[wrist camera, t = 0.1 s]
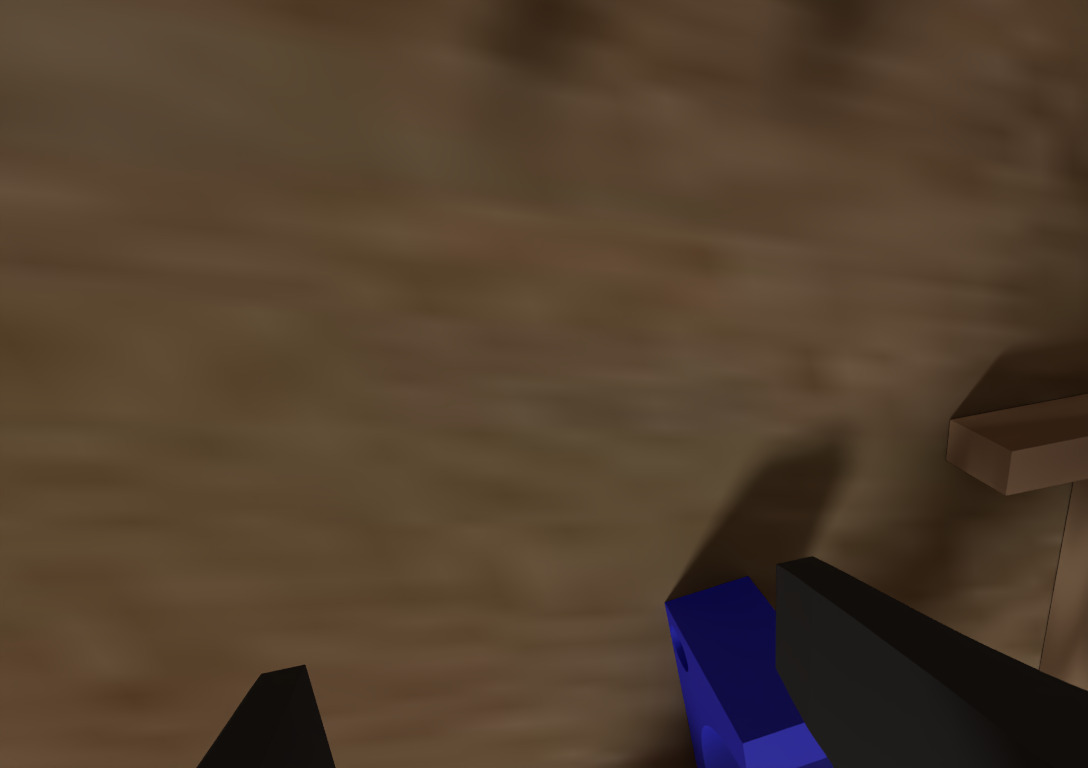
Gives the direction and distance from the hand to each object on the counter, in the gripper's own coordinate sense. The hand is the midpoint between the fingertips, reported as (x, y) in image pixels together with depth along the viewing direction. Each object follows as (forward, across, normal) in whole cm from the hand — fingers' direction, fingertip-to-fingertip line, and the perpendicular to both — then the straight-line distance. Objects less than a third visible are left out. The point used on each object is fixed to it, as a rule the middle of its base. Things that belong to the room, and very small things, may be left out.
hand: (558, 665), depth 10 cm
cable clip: (+10, -8, +13) cm, 19 cm away
